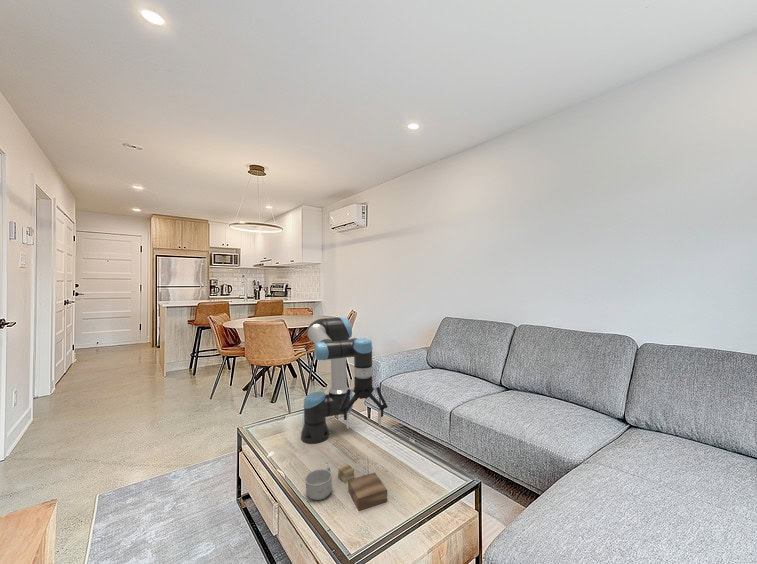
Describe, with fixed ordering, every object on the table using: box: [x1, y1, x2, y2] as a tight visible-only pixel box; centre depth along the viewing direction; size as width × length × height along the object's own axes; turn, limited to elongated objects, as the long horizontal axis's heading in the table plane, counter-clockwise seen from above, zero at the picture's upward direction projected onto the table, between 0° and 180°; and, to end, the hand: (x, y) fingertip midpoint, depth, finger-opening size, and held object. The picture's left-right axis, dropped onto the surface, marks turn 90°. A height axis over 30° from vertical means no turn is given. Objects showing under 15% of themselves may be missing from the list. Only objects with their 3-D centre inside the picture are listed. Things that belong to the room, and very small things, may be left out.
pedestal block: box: [347, 472, 388, 513], centre depth 132 cm, size 12×12×5 cm
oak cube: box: [337, 463, 355, 484], centre depth 144 cm, size 5×5×5 cm
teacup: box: [304, 466, 333, 501], centre depth 135 cm, size 14×11×8 cm
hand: (363, 425), depth 139 cm, fingers open, 13 cm apart
